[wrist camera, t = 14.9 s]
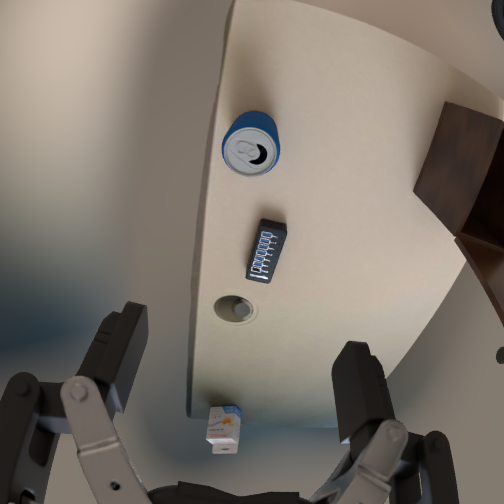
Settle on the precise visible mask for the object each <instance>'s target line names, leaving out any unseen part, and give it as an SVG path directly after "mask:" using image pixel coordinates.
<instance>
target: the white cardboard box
mask: <svg viewBox="0 0 504 504" xmlns="http://www.w3.org/2000/svg"><path fill="white" fill-rule="evenodd" d="M240 419H241V411H240V410H239V409H238V408H237V407H236V405H234V406H221V407H211V410H210V416H209V423H208V429H207V436H206V440H208V441H209V442H210V443H211V444H213V450H212V453H237V448H238V442H239V431H240ZM221 448H229V450H226V451H224V450H220V449H221Z"/></svg>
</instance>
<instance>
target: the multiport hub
mask: <svg viewBox="0 0 504 504" xmlns="http://www.w3.org/2000/svg"><path fill="white" fill-rule="evenodd" d="M286 236H287V226H286V224H283V223H279V222H275V221H271V220H266V219H261V220H260V223H259V226H258V230H257V234H256V237H255V241H254V244H253V248H252V251H251V255H250V258H249V262H248V265H247V269H246V279H248V280H253V281H257V282H262V283H267V284H268V283H270V282H271V279H272V276H273V273H274V270H275V267H276V265H277V262H278V259H279V256H280V253H281V250H282V247H283V244H284V242H285V239H286Z"/></svg>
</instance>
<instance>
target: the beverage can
mask: <svg viewBox="0 0 504 504" xmlns="http://www.w3.org/2000/svg"><path fill="white" fill-rule="evenodd" d="M222 155H223V158H224V161H225V163H226V164H227V165H228V167H229V168H230V169H231V170H233V171H234V172H236V173H237V174H239V175H242V176H246V177H255V176H260V175H263V174H265V173H267V172H268V171H270V170H271V169H272V168H273V167H274V166H275V164H276V163H277V161H278V159H279V155H280V143H279V137H278V132H277V127H276V124H275V122H274V121H273V119H272V118H271V117H270V116H268V115H267V114H265V113H263V112H259V111H249V112H245V113H243V114H242V115H240V116H239V117H238V118H237V119H236V120H235V121H234V123H233V124H232V126H231V127H230V129H229V130H228V132H227V134H226V135H225V137H224V139H223V142H222Z"/></svg>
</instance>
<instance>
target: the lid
mask: <svg viewBox="0 0 504 504" xmlns="http://www.w3.org/2000/svg"><path fill="white" fill-rule="evenodd" d="M454 241H455V243H456V244H457V246H458V247H459V249H460V250H461V252H462V253H463V255H464V256H465V258H466V260H467V261H468V263H469V264H470V266H471V268H472V269H473V271H474V273H475V274H476V276H477V278H478V279H479V281H480V283H481V285H482V286H483V288H484V290H485V292H486V293H487V295H488V297H489V299H490V301H491V303H492V305H493V306H494V308H495V310H496V312H497V314H498V316H499V318H500V320H501V322H502V324H503V326H504V253H502V252H499V251H497V250H494V249H492V248H489V247H486V246H484V245H481V244H478V243H476V242H473V241H470V240H467V239H465V238H462V237H459V236H456V238H455V240H454ZM496 360H497V362H498V363H499V364H504V347H501V348H500V349H499V350H498V351H497V354H496Z"/></svg>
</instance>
